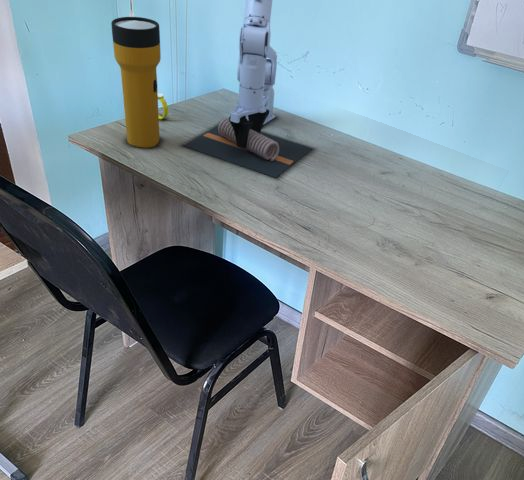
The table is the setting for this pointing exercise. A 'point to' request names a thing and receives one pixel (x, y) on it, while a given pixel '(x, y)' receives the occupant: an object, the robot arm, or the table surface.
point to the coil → (251, 141)
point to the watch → (161, 98)
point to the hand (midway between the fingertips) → (247, 143)
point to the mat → (249, 152)
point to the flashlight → (138, 76)
